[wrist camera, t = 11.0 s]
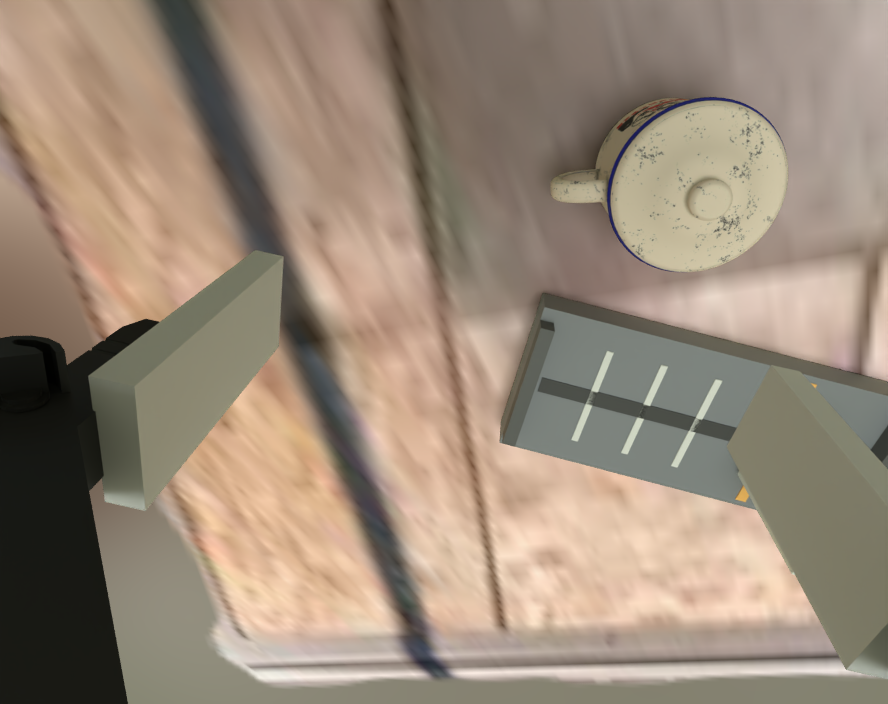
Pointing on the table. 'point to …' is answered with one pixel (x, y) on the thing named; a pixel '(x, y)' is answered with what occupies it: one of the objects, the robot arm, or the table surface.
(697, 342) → the fader console
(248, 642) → the table surface
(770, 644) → the table surface
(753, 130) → the teacup with lid
